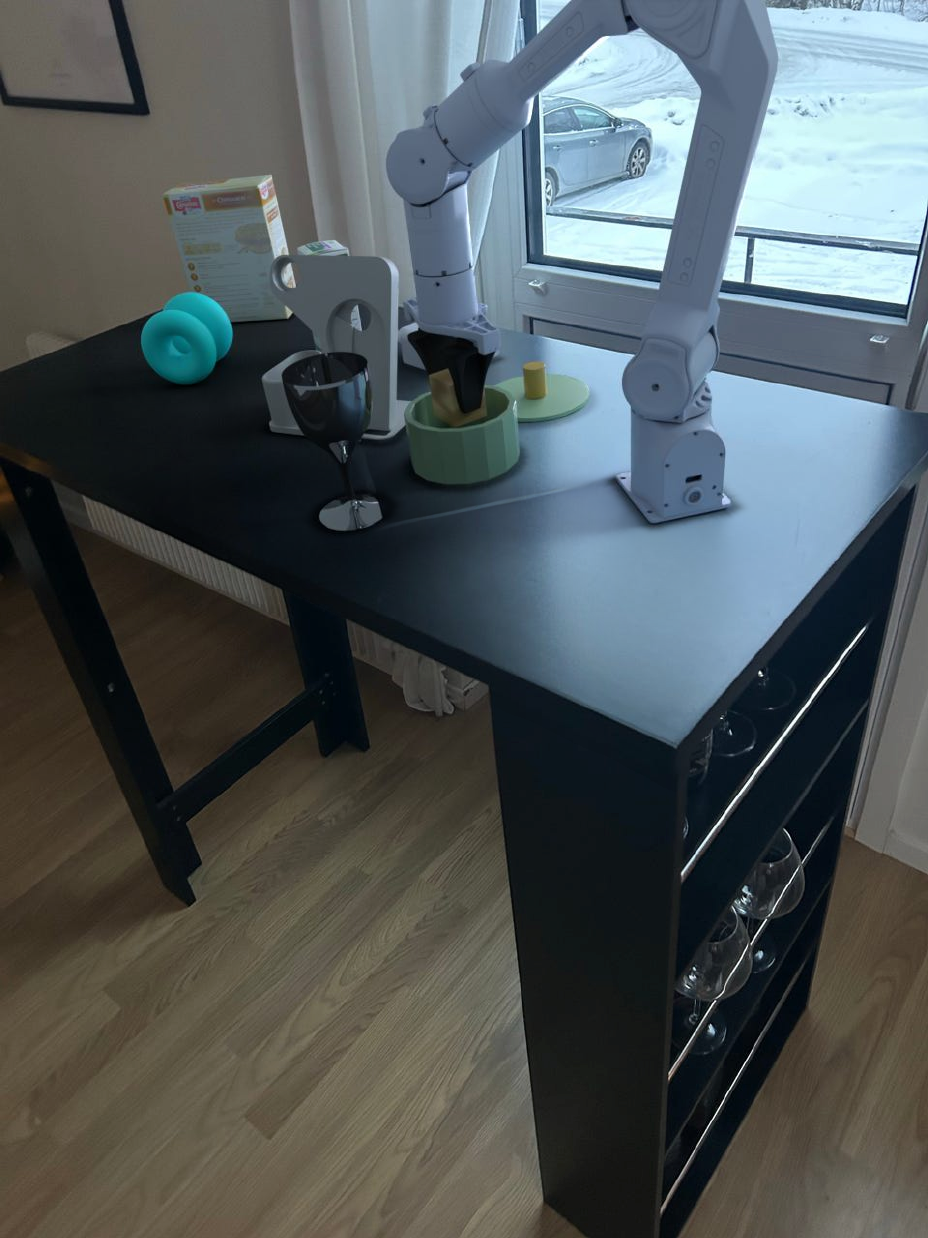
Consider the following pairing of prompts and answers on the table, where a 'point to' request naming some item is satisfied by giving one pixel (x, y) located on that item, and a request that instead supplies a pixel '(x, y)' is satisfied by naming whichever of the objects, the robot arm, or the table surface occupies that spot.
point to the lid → (545, 393)
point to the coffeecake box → (231, 243)
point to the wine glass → (335, 424)
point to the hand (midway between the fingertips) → (459, 403)
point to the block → (451, 401)
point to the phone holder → (342, 328)
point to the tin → (463, 440)
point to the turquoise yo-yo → (186, 338)
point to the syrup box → (332, 250)
